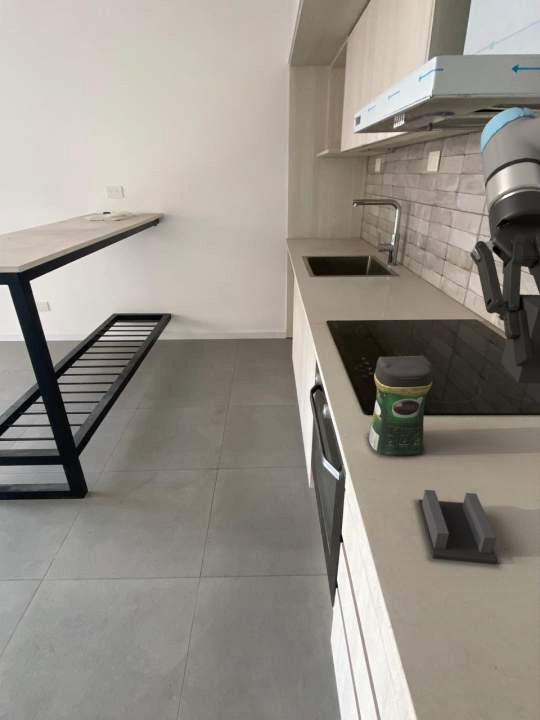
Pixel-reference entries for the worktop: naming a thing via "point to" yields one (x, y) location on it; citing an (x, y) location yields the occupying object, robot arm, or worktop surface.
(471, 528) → the base pad
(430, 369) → the coffee jar
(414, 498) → the worktop surface
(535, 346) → the dark gray block
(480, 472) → the worktop surface
